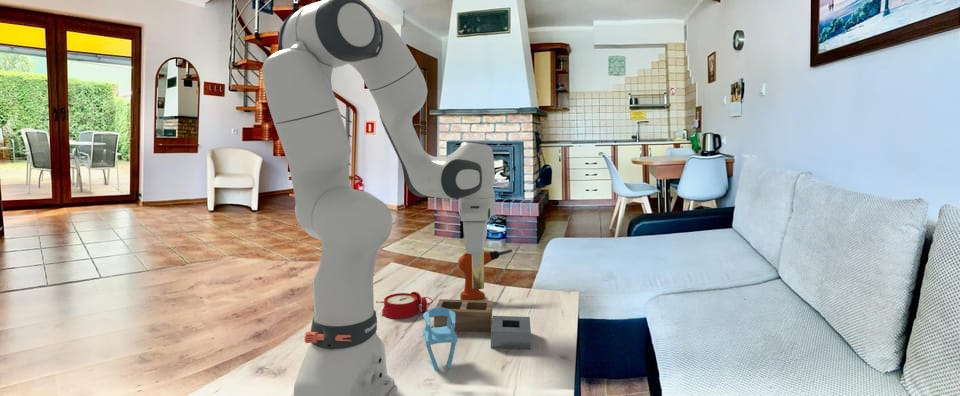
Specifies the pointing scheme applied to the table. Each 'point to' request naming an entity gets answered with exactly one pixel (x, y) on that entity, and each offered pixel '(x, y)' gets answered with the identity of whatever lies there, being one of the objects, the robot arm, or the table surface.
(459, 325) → the box
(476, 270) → the gold rounded rod
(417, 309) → the alarm clock
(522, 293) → the table surface
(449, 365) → the chair
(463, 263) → the toy drill
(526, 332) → the socket block
